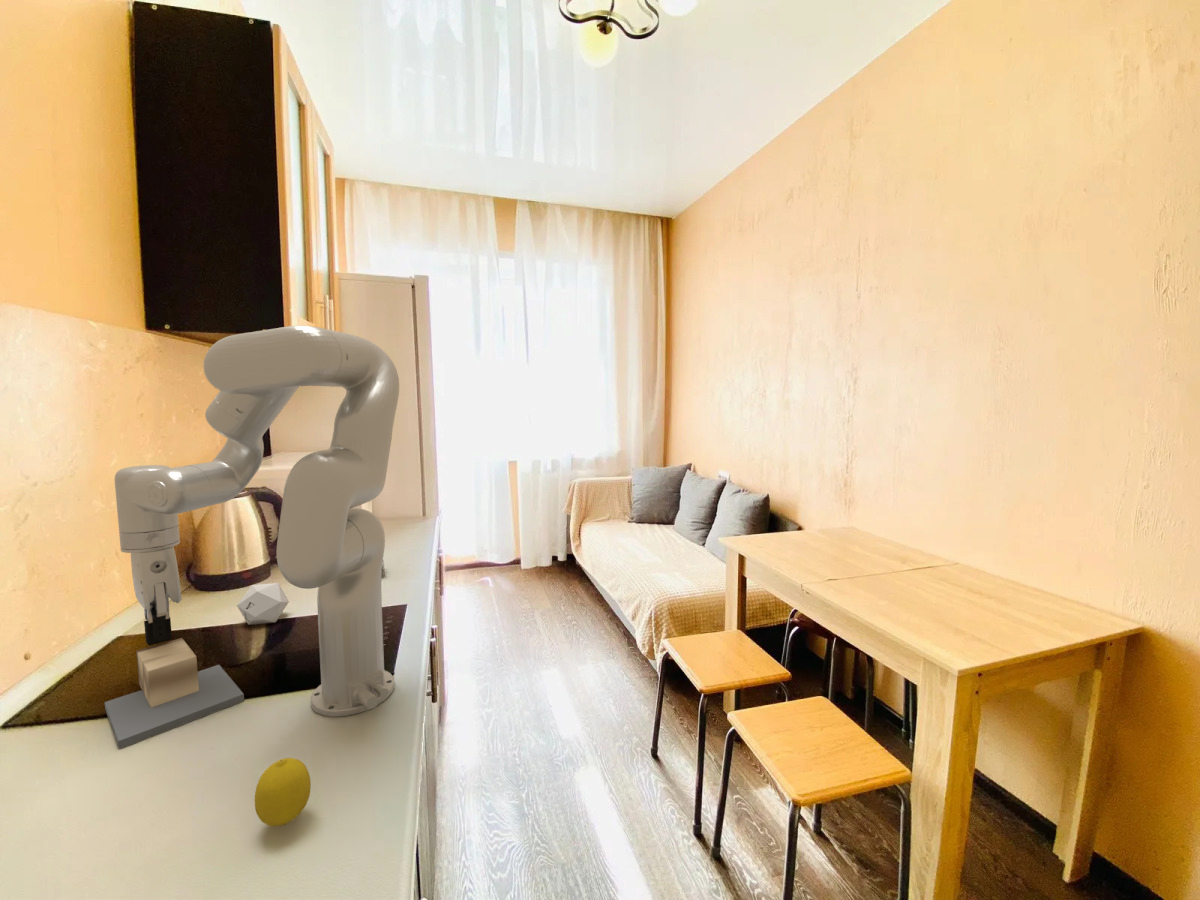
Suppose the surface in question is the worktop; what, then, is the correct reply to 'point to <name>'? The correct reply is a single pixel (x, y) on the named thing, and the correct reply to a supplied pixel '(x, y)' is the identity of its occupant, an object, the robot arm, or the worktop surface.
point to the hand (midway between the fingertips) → (159, 641)
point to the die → (263, 603)
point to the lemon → (282, 792)
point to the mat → (170, 708)
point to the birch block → (167, 671)
